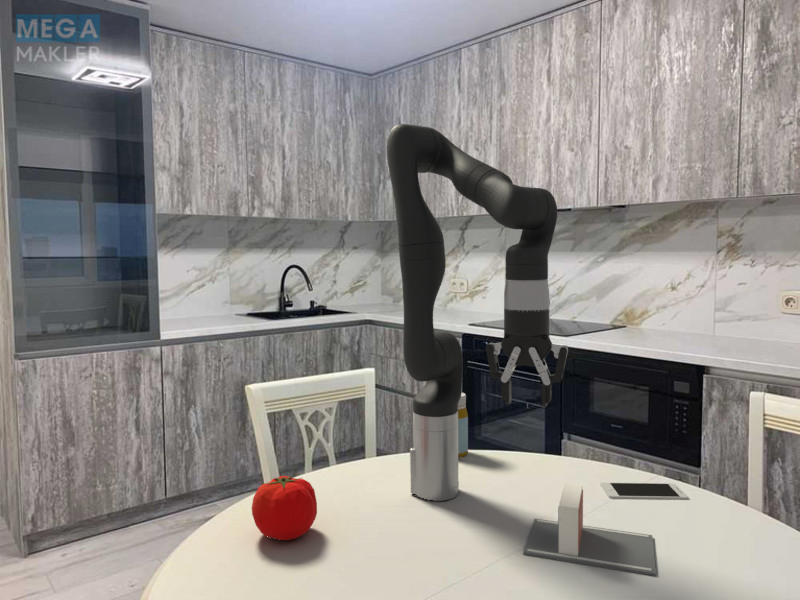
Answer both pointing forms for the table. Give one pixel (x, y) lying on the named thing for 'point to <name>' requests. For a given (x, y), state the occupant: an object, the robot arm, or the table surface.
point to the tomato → (284, 508)
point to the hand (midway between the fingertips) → (526, 403)
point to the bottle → (462, 427)
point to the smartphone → (643, 491)
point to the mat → (595, 547)
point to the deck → (570, 519)
